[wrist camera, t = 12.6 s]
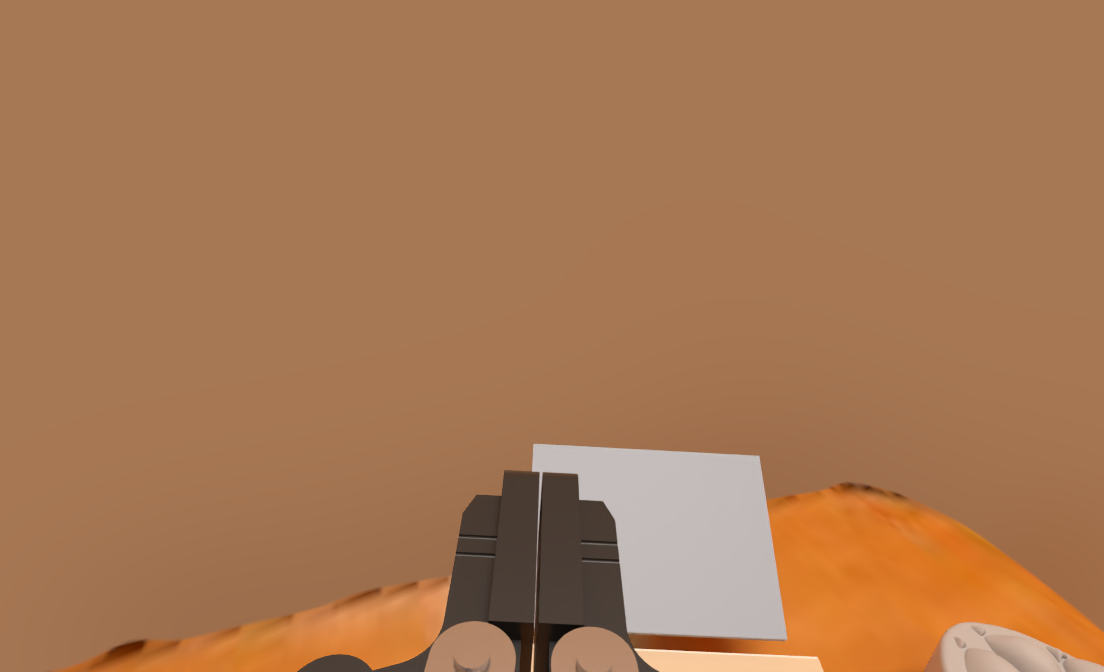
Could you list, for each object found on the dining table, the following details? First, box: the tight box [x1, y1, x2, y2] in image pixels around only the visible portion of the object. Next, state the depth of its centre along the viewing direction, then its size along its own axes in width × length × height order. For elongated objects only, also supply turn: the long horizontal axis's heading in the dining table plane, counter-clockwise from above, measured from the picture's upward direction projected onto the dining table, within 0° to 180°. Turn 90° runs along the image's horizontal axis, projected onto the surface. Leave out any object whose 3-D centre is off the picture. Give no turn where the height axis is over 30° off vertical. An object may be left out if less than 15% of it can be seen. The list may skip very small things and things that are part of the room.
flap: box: [532, 444, 787, 641], centre depth 44 cm, size 16×1×12 cm
